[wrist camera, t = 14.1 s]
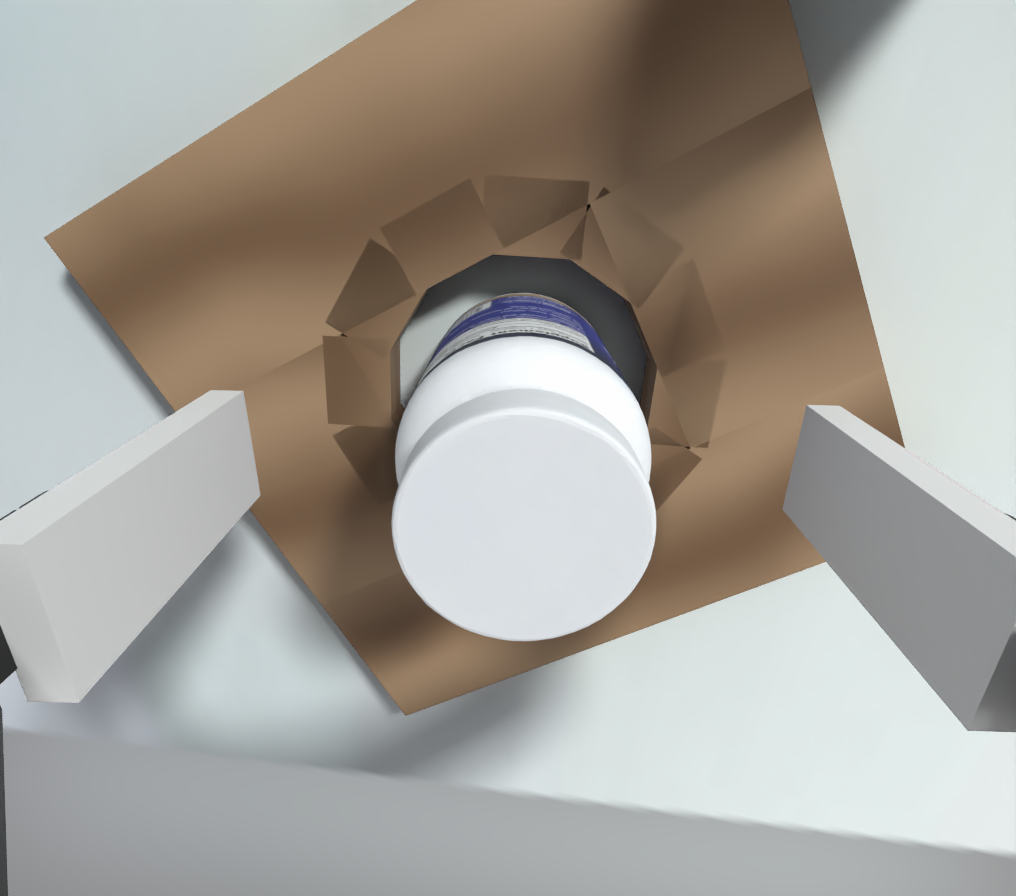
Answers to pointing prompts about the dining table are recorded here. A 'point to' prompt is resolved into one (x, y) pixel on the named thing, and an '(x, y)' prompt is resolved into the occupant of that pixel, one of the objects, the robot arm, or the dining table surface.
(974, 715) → the robot arm
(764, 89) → the socket
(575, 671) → the dining table surface
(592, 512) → the pill bottle
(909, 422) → the dining table surface
